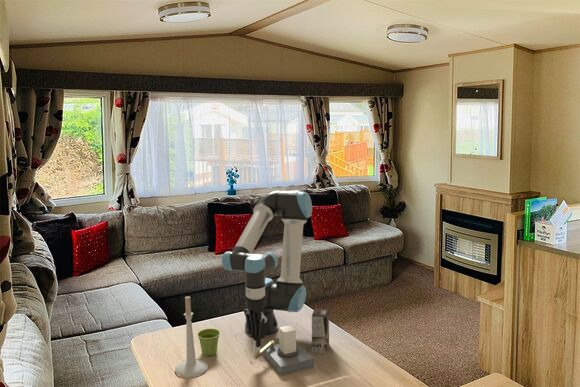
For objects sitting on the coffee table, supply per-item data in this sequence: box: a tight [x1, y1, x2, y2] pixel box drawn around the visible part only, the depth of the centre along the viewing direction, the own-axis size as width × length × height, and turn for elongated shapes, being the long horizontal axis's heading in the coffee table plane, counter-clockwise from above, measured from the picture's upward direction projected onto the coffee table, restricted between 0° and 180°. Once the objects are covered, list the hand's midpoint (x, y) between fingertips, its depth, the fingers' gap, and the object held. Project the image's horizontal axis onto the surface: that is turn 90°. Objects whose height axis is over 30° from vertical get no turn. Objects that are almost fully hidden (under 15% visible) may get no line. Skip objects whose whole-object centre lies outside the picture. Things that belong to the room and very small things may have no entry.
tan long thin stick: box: [253, 339, 276, 360], centre depth 193 cm, size 15×2×1 cm, turn 154°
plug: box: [277, 324, 298, 358], centre depth 194 cm, size 8×8×14 cm
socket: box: [262, 341, 315, 376], centre depth 195 cm, size 18×14×5 cm
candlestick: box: [174, 295, 209, 378], centre depth 189 cm, size 13×13×30 cm
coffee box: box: [311, 308, 330, 354], centre depth 205 cm, size 9×6×16 cm
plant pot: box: [196, 328, 221, 357], centre depth 204 cm, size 9×9×9 cm
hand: (256, 353), depth 191 cm, fingers closed
